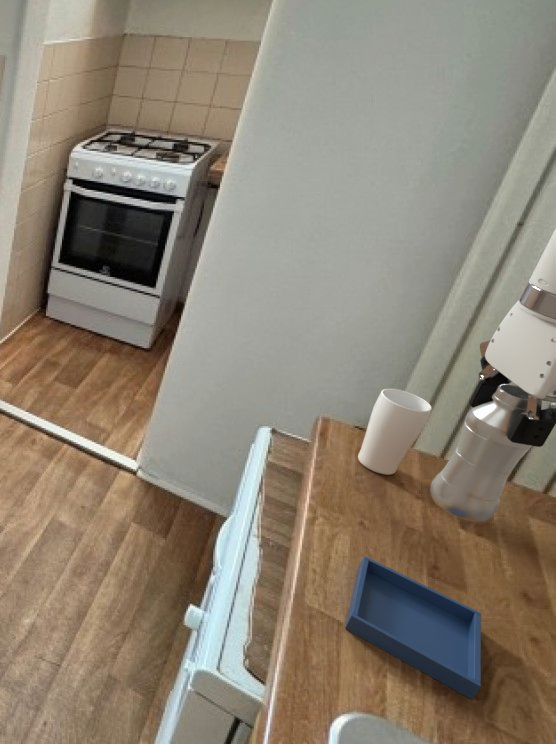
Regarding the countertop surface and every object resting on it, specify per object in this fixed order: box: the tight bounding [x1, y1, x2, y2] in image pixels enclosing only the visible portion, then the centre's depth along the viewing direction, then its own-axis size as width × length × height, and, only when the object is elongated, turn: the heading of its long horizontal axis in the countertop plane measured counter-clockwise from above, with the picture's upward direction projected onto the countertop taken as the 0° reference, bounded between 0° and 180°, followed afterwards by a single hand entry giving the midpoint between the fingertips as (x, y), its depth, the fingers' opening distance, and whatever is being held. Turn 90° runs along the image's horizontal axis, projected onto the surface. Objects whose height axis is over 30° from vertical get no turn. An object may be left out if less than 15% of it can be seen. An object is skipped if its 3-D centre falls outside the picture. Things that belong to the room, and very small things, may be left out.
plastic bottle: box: [429, 383, 533, 523], centre depth 81 cm, size 6×7×20 cm
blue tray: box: [344, 555, 482, 700], centre depth 82 cm, size 14×12×3 cm
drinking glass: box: [357, 388, 433, 476], centre depth 108 cm, size 7×7×15 cm
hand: (503, 424), depth 79 cm, fingers closed on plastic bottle, 6 cm apart
